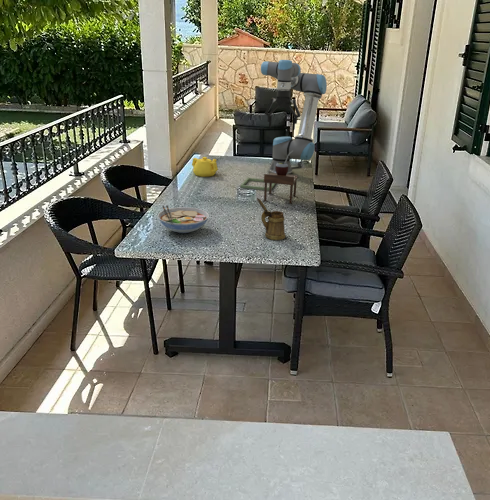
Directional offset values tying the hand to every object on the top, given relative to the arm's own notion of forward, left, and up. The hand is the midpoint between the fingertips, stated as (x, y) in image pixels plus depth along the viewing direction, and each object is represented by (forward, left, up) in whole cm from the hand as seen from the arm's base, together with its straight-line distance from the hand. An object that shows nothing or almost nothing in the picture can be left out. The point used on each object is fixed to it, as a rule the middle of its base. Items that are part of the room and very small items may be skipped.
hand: (281, 128), depth 287 cm
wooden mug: (+80, +11, -35) cm, 88 cm away
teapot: (-14, -49, -35) cm, 62 cm away
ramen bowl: (+85, -28, -35) cm, 96 cm away
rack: (+22, +5, -35) cm, 41 cm away
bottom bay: (0, -12, -35) cm, 36 cm away
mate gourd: (+22, +5, -23) cm, 32 cm away
